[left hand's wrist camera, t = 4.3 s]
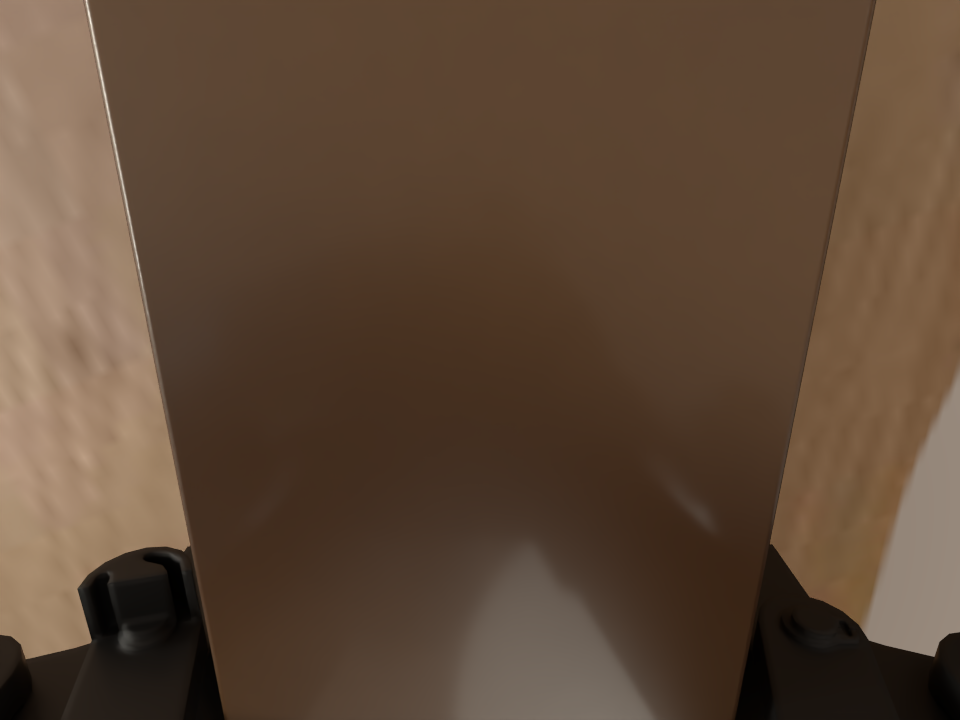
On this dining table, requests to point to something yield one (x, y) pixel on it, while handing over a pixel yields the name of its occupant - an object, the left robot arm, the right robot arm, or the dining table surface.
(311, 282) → the plank
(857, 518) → the dining table surface
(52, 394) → the dining table surface
